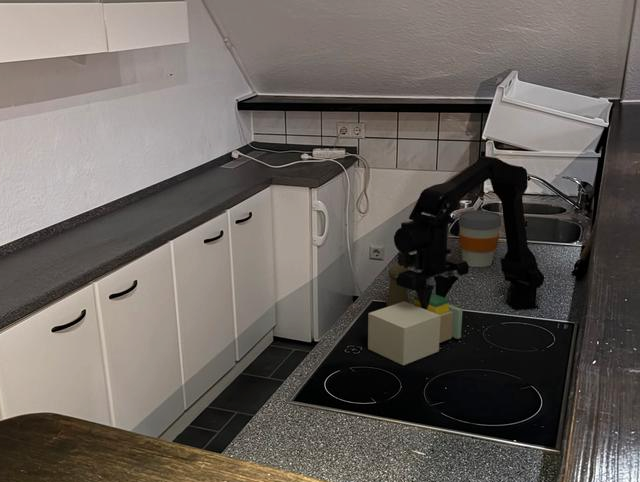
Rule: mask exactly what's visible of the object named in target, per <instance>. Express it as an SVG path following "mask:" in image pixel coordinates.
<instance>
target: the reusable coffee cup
mask: <svg viewBox="0 0 640 482" xmlns="http://www.w3.org/2000/svg"><path fill="white" fill-rule="evenodd" d="M458 226H459V231H458V241H459V242H458V243H459V248H460V249H461V250H460V251H461V260H463V261H466V262H467V264H468V265H469V267H473V268H486V267H490V266H491V265H493V259H494V255H495V251H496V250H497V248H498V243H499V239H500V228H501V226H502V215H501V214H500V213H498V212H495V211H491V210H484V209H483V210H482V209H478V210H477V209H474V210H465V211H462V212H460V214H459V218H458Z"/></svg>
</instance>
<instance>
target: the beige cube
mask: <svg viewBox="0 0 640 482" xmlns="http://www.w3.org/2000/svg"><path fill="white" fill-rule="evenodd" d="M367 316H368V317H367V318H368V319H367V350H368V351H369V350H370V351H372V352H374V353H376V354H378V355H380V356H382V357H384V358H386V359H388V360H391V361H393V362H394V363H397V364H399V365H402V366H407V365H408V364H411V363H413V362H415V361H419V360H421V359H424V358H426V357H428V356H430V355H433V354H436V353H438V352H440V343H439V338H440V318H441V315H439V314H436V313H433V312H431V311H428V310H426V309H423V308H420V307H418V306H415V305H414V304H412V303H410V302H409V303H407V302H405V301H404V302H401V303H398V304H395V305H392V306H389V307H387V306H386V307H383V308H379V309H376V310H374V311H371V312H368V315H367Z"/></svg>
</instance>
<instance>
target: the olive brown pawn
mask: <svg viewBox="0 0 640 482" xmlns="http://www.w3.org/2000/svg"><path fill="white" fill-rule="evenodd" d="M408 268H409V267H408ZM408 268H405V269H404V266H400V265H399V264H393V265H391V266H390V267H389V269H388V276H389V278H390V279H389V285H388V293H387V296H386V297H387V298H386V303H385V304H386V307H389V306H392V305H395V304H398V303H401V302H404V301H405V302H407V303H410V302H409V291H408V289H407V288H404V287H402V286H399V285H396V276H397V275H398V274H399V273H402V272H405V271H408V270H409V269H408Z"/></svg>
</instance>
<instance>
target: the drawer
mask: <svg viewBox="0 0 640 482" xmlns="http://www.w3.org/2000/svg"><path fill="white" fill-rule="evenodd" d="M462 323H463V309H462V308H460V307H457V306H454V305H451V304H449V312H447V313H444V314H441V318H440V338H439V344H441V343H443V342H446V341H448V340H451V339H452V338H453V339H457V340H460V339H461V338H462V327H463V325H462Z"/></svg>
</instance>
